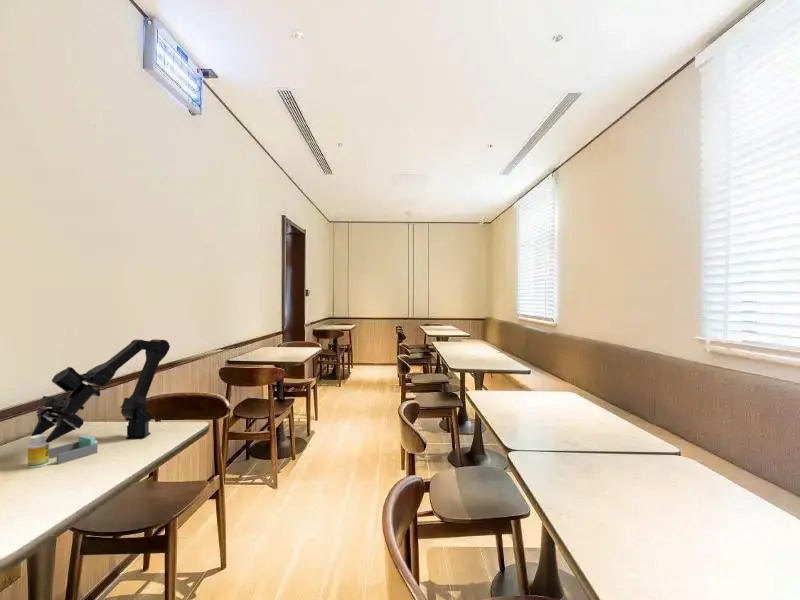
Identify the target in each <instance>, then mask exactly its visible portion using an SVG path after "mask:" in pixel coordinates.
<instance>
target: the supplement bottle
mask: <svg viewBox="0 0 800 600" xmlns="http://www.w3.org/2000/svg"><path fill="white" fill-rule="evenodd" d="M29 439H30V440H29V441H30V443H28V445H27V468H29V469H38V468H41V467H45V466H47V465H48V464H49V463H50V461H49V460H50V459H49V449H50V442H49V443H47V442H46V439H47V435H46V434H45V433H42V434H40V435H35V436H32V437H31V436H30V438H29Z"/></svg>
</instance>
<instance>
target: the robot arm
mask: <svg viewBox="0 0 800 600" xmlns="http://www.w3.org/2000/svg"><path fill="white" fill-rule="evenodd" d="M143 350H144V353H145V362H144V364H143V367H142V370H141V373H140V375H139V378H138V380H137V382H136V385H135V386H134V387H135V388H134V390H133V393H132V394H131V395H130V396H129V397H124V399H123V402H122V405H121V406H120V409H121V410H120V413H121V415H122V417H124V419H125V422H128V425H127V426H126V437H125V438H126V440H130V439H131V440H132V439H134V440H138V439H139V440H140V439H146V438H147V437H148V436H150V435H151V434H152V433H151V432H149V431H150V430H149V429H150V428H149V425H150V424H149V423H150V422H151V421H152V419H153V415H152V414H151V413H150V412H148V411H147V407H148V402H147V401H148V400H147V396H148V393H149V390H150V388H151V385H152V382H153V379H154V378H155V375H156V372H157V370H158V367H159V364H160V362H161V361H162V360H163V359H164V358H165V357H166V356H167V354H168V352H169V350H170V342H169V341H168V340H166V339H157V338H155V339H154V338H153V339H151V340H144V339H133V340H131V342H130V343H129V344H127V345H126V346H125V347H124V348H122V349H121V350H120V351H119V352H117V353H116V354H115V355H114V356H111V358H110V359H109V360H107V361H105V362H103V363H101V364H99V365H96V366H95V367H92V368H91V369H89V370H88V371H87V372H86V373H81V374H80V373H79V372H77V371H76V369H74V368H73V367H71V366H68V367H66V368H65V369H63V370H61V371H59V372H58V373H56V374H55V375H54V376H53V377H52V379H51V382H52V384H54V385H56V386H57V387H59V388H60V389H61V390H62V391H64V392H65V393H68V392H69V393H70V394H69V395H68V396H61V395H56V396H55V397H52V396H45V395H43V396H42V398H41V400H40V402H39V403H38V405H39V406H40V408H39V409H38V410H37V411H36V417H37V420H38V421H37V424H36V426H35V427H34V429H33V431H32V433H31V434H30V437H32V436H35V435H40V434H44V433H45V432H46V431H49V429H51V428H52V427H54V426H55V425H56V426H55V427H54V428H53V430H52V431H51V432H50V433H49V435H48V436H47V437H46V439H45V440H46V442H47V443H49V444H50V443H51V442H53V441H55V440H56V439H58V438H60V437H62V436H64V435H66V434H68V433H70V432H73V431H76V430H77V429H81V427H82V426H83V425H84V419H83V418H81V417H80V416H79V415H77V413H78V412H79V411H80V410H81V411H83V410H84V409H85V407H84V406H85V404H86V403H87V402H88V401H89V400H90V399H91V398H92V397H93V396H94V397H101V393H100V391H101V389H100V388H97V387H98V386H99V387H102V386H106V385H107V384H108V383H109V382H110V381H111V380H112V379H113V377H114V376H115V375H116V373H117V371H119V369H120V368H121V367H123V366H124V365H125V364H127V362H129V361H130V360H131V359H132V358H134V357H135V356H136V355H137V354H138V353H140V352H141V351H143ZM86 383H87V384H86ZM94 386H97V387H94Z"/></svg>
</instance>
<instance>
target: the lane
mask: <svg viewBox="0 0 800 600" xmlns="http://www.w3.org/2000/svg"><path fill="white" fill-rule="evenodd" d="M94 453H95V454H98V440H96V437H92V436H88V435H79V436H78V440H77V441H75V442H71V443H66V444H62V445H58V446H55V447H51V448H49V460H50V459H53V458H56V464H57V465H60V464H65V463H68V462H71V461H74V460H78V459H81V458H85V457H88V456H91V454H92V455H94ZM84 456H85V457H84Z"/></svg>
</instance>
